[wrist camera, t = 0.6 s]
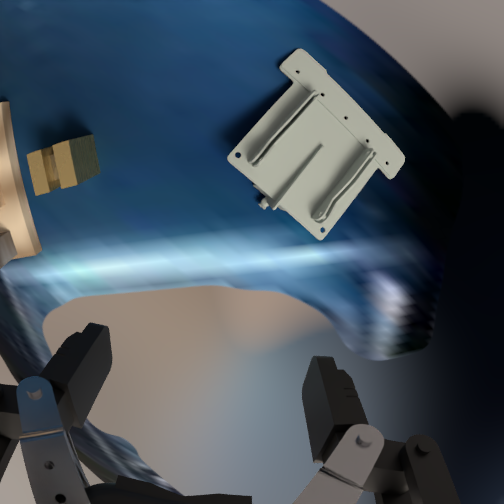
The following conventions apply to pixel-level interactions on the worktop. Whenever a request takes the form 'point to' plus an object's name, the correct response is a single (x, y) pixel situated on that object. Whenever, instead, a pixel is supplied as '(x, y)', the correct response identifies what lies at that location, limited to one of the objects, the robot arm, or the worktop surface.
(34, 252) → the coupling base
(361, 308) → the worktop surface
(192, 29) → the worktop surface
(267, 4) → the worktop surface
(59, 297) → the worktop surface
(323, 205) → the metal bracket
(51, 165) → the slotted brass block
